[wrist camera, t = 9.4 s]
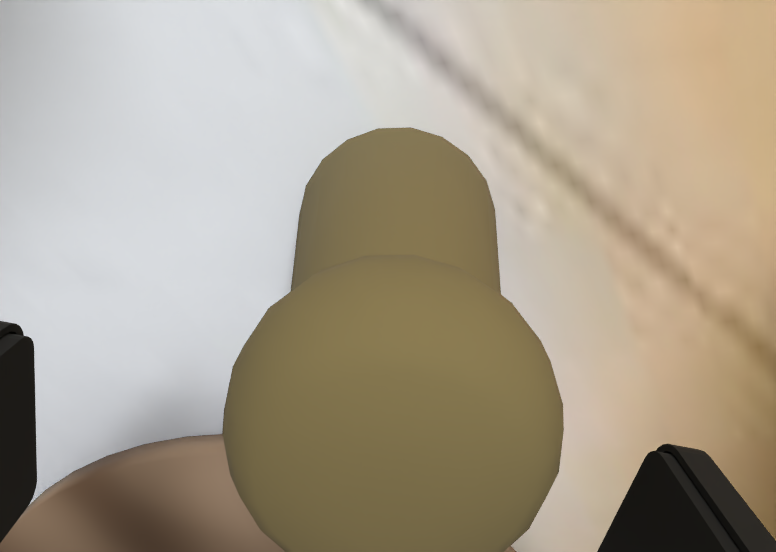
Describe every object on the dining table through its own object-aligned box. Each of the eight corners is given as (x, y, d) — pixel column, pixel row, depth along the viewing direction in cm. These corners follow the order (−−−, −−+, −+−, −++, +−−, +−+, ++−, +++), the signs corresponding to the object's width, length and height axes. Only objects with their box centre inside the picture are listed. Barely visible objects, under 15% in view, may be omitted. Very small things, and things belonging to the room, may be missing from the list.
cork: (475, 323, 19) (560, 670, 9) (294, 301, 19) (166, 630, 8) (514, 141, 16) (697, 330, 6) (305, 113, 16) (145, 263, 6)
